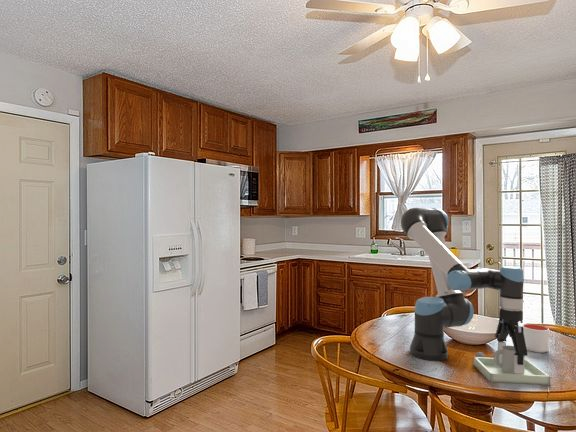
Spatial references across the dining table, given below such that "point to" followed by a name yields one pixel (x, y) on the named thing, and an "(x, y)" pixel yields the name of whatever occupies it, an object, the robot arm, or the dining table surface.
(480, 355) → the mixing ball
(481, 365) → the tray
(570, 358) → the dining table surface
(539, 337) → the cup
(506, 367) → the cup
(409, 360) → the dining table surface
